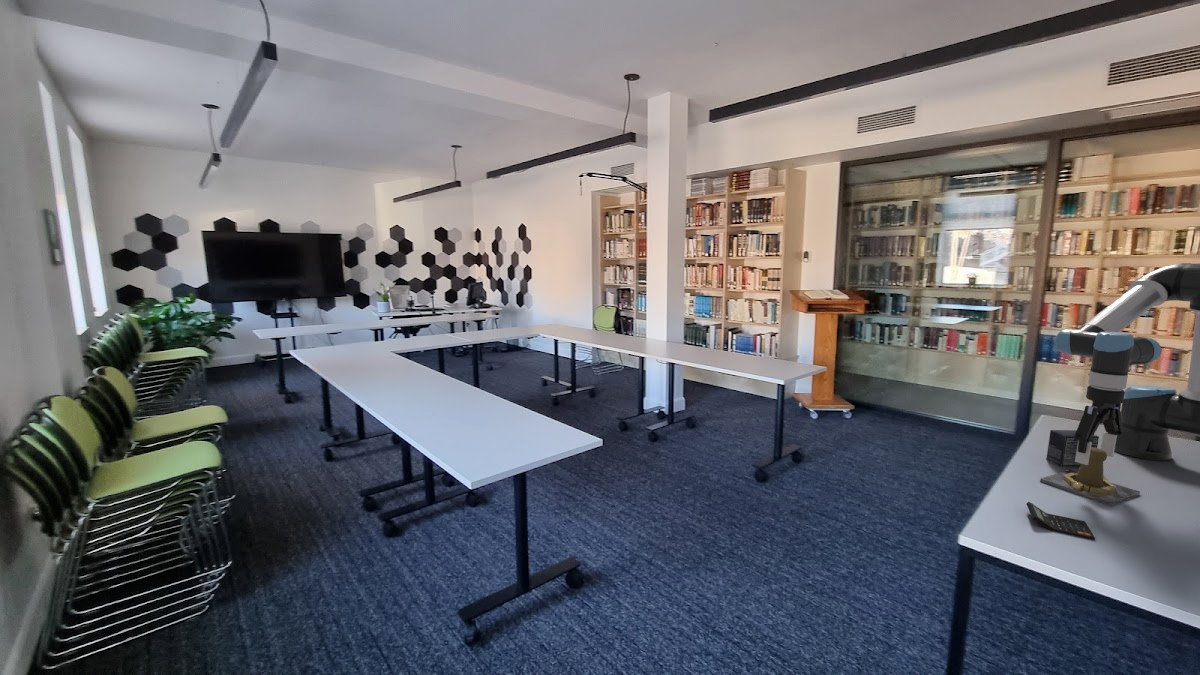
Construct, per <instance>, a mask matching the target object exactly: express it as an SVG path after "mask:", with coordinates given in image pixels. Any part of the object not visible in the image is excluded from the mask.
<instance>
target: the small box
mask: <svg viewBox="0 0 1200 675" xmlns="http://www.w3.org/2000/svg"><path fill="white" fill-rule="evenodd" d="M1076 431H1077V429H1076V430H1075V429H1072V430H1068V429H1050V432H1049V438H1048V445H1047V451H1046V458H1045V460H1046V461H1048V462H1051V463H1052V464H1055V465H1056V466H1058V467H1060V468H1080V466H1081V463H1078V462H1075V457H1076V451H1077V445H1078V440H1076V439H1074V436H1075V433H1076ZM1083 437H1084V436H1083ZM1099 439H1100V436H1099V435H1096V434H1094V435H1093V437H1092V439H1091V441H1090V442H1092V445H1091V447H1094V448H1098V445H1099Z"/></svg>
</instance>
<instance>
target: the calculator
mask: <svg viewBox="0 0 1200 675" xmlns="http://www.w3.org/2000/svg"><path fill="white" fill-rule="evenodd" d="M1026 506H1027V509H1028V511H1029V513H1030V516H1031V519H1032V520H1034V521H1035V522H1037V523H1038V524H1040V525H1042V526H1043V527H1045V529H1047V530H1049V531H1051V532H1054V533H1060V534H1065V535H1067V536H1068V535H1069V536H1074V537H1076V538H1077V537H1078V538H1083V539H1086V540H1091V541H1096V537H1095V536H1094V534H1093V532H1092V530H1091V529H1090V528H1089V526H1088V524H1087V522H1086V521H1085V520H1081V519H1078V518H1077V519H1076V518H1071V517H1066V516H1061V515H1056V514H1053V513H1049V512H1048V513H1047V512H1046V511H1044V510H1042V509H1041V508H1039V507H1038V506H1036V505H1034V504H1033V503H1032V502H1030V501H1028V502H1026Z"/></svg>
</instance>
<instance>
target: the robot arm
mask: <svg viewBox="0 0 1200 675" xmlns="http://www.w3.org/2000/svg"><path fill="white" fill-rule="evenodd" d="M1168 301H1169V302H1170V301H1180V302H1181V301H1182V302H1189V307H1188V309H1189V310H1190V311H1192V312H1193V313H1194V314H1195V320H1194V321H1195V322H1194V328H1193V329H1194V330H1193V338H1192V345H1191V346H1192V347H1191V352H1190V353H1191V354H1190V361H1189V363H1190V364H1189V371H1188V378H1187V387H1186V388H1184V389H1182V390H1180V391H1179V394H1177V393H1178V392H1177V390H1176V388H1171V387H1166V386H1155V385H1132V386H1128V387H1127V383H1128V376H1129V368H1130V366H1134V365H1146V364H1149V363H1152V362H1155V361H1156V360H1158V359H1159V358H1160V356H1161V355H1162V345H1161V343H1160V342H1158V341H1157V340H1156V339H1153V338H1150V337H1145V336H1143V337H1142V336H1135V337H1134V335H1133V334H1131V333H1127V332H1121V331H1123V330H1124V329H1126V328H1127V327H1128V326H1130V325H1131V324H1132V323H1134V322H1135V321H1136V320H1137V319H1139V318H1140V317H1141V316H1142V315H1144V314H1146V312H1147V311H1149V310H1150V309H1152V307H1159V306H1161V305H1162V304H1164V303H1165V302H1168ZM1054 345H1055V349H1056V350H1057V351H1058V352H1060V353H1063V354H1067V355H1071V356H1079V357H1085V358H1091V365H1090V371H1089V372H1088V373H1087V376H1088V377H1089V378H1088V384H1089V385H1088V386H1087V388H1086V393H1085V394H1086V395H1085V398H1086V399H1087V400H1089V401H1091V402H1092V403H1091V405H1085V407H1084V410H1083V414H1082V417H1081V419H1080V421H1079V423H1078V425H1077V428H1076V430H1077V431H1076V433H1075V436H1074V439H1076V440H1078V445H1077V451H1076V457H1075V462H1078V463H1081V464H1085V465H1088V463H1089V457H1090V451H1091V445H1092V442H1090V441H1091V439H1092V437H1093V435H1095V434H1096V432H1097V430H1098V428H1099V427H1100V424H1101V425H1102V424H1103V427H1104V430H1105V431H1104V432H1103V434H1102V439H1101V446H1100V449H1102V450H1104V451H1105V452H1106V454H1107V457H1110V458H1113V457H1114V455H1115V452H1117V453H1119V454H1123V455H1125V456H1129V457H1134V458H1139V459H1143V460H1150V461H1151V460H1152V461H1169V460H1171V459H1172V455H1173V454H1172V453H1173V451H1172V447H1171V444H1170V441H1169V437H1168V433H1169V430H1171V431H1175V432H1179V433H1184V434H1188V435H1190V436H1195V437H1199V438H1200V263H1191V262H1190V263H1189V262H1187V263H1186V262H1185V263H1184V262H1183V263H1176V264H1170V265H1166V266H1164V267H1160V268H1158V269H1157V268H1156V269H1155V270H1152V271H1151V272H1148V273H1146V274H1144V275H1142V276H1140V277H1138V278H1137V279H1135V280H1134V281H1133V282H1131V284H1130V285H1129V286H1128V288H1127V291H1126V292H1124V294H1122V295H1121V296H1119V297H1118V298H1117V299H1116V300H1114V301H1113V302H1111V303H1110V304H1109V305H1108V306H1106V307H1105V308H1104V309H1102V310H1101V311H1100V312H1098V313H1097V314H1096V315H1094V316H1093V317H1092V318H1090V319H1089V320H1088V321H1086V322H1084V324H1083V325H1081V326H1080V327H1078V328H1077V329H1073V328H1071V329H1062V330H1060V331H1059V332H1058V333H1057V334H1056V336H1055V339H1054ZM1083 436H1084V437H1083Z"/></svg>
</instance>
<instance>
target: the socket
mask: <svg viewBox="0 0 1200 675" xmlns="http://www.w3.org/2000/svg"><path fill="white" fill-rule="evenodd" d="M1077 474H1078V471H1076V470H1072V469H1068V470H1064V471H1061V472H1057V473H1054V474H1050V475H1047V476H1044V477H1041V478H1040V483H1042V484H1043V483H1044V484H1045V485H1048V486H1052V487H1055V488H1057V489H1061V490H1064V491H1065V492H1069V493H1072V494H1076V495H1078V496H1080V497H1084V498H1087V499H1090V500H1092V501H1096V502H1098V503H1102V504H1103V505H1104V504H1105V505H1107V506H1110V507H1111V506H1113V505H1115V504H1119V503H1121V502H1124V501H1127V500H1129V499H1133V498H1135V497H1137V496H1140V493H1141V491H1139V490H1136V489H1134V488H1130V487H1127V486H1124V485H1119V484H1117V483H1113V482H1111V481H1110V480H1107V479H1106V477H1104V476H1103V487H1096V486H1089V485H1086V484H1083V483H1080V482H1077V481H1075V479H1076V477H1077Z"/></svg>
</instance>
